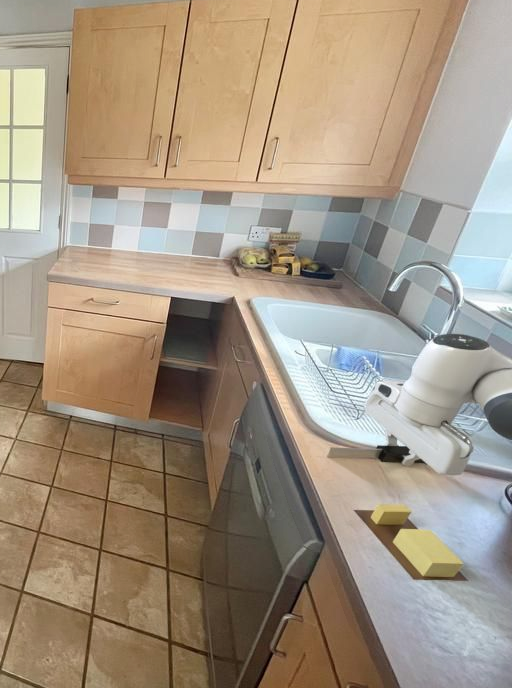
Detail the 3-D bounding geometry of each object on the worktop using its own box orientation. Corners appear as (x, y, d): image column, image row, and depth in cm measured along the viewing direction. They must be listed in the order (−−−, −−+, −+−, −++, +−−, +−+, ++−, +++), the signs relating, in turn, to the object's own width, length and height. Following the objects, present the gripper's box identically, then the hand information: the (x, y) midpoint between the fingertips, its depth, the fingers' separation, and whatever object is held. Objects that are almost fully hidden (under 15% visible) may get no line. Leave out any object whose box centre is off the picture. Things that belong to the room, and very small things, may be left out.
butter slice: (396, 517, 78) (404, 504, 76) (403, 524, 76) (411, 511, 75) (370, 517, 78) (377, 504, 76) (376, 524, 76) (384, 511, 75)
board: (397, 516, 80) (400, 510, 79) (464, 586, 68) (469, 580, 67) (350, 515, 80) (353, 509, 79) (409, 585, 68) (413, 579, 67)
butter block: (420, 542, 73) (429, 529, 72) (454, 577, 68) (464, 563, 66) (392, 542, 73) (400, 528, 72) (423, 576, 68) (432, 563, 66)
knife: (416, 458, 93) (423, 446, 91) (425, 467, 90) (433, 454, 89) (321, 456, 93) (327, 443, 91) (329, 464, 91) (335, 451, 89)
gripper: (494, 443, 76) (457, 496, 81) (398, 378, 94) (374, 425, 100) (459, 442, 76) (425, 496, 82) (370, 377, 94) (348, 424, 100)
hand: (396, 456), depth 91 cm, fingers closed on knife, 2 cm apart
